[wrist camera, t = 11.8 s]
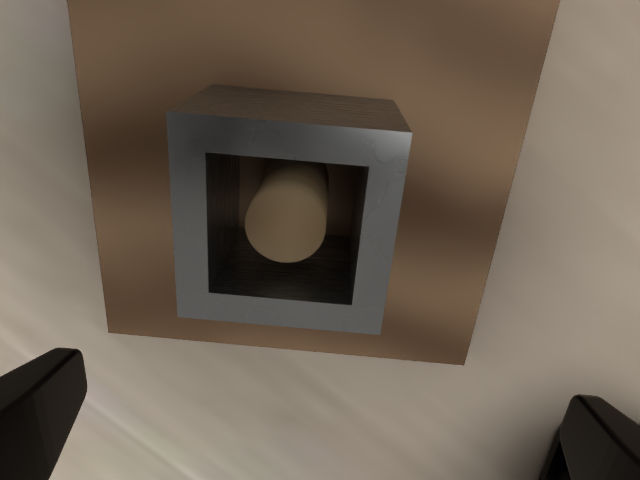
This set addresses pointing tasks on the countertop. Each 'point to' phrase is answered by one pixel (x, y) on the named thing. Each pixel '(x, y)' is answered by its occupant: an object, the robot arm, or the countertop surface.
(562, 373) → the countertop surface
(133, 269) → the post base
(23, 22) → the countertop surface
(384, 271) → the square tube
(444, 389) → the countertop surface
